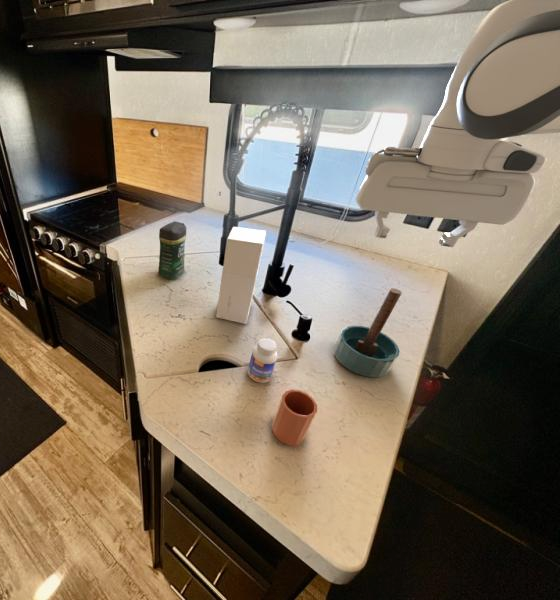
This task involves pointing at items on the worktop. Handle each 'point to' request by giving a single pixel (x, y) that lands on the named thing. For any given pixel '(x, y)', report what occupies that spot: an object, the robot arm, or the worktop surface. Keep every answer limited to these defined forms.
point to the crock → (294, 417)
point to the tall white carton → (239, 273)
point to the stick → (378, 324)
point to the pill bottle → (263, 360)
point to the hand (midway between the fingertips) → (411, 240)
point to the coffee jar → (172, 250)
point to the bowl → (362, 363)
